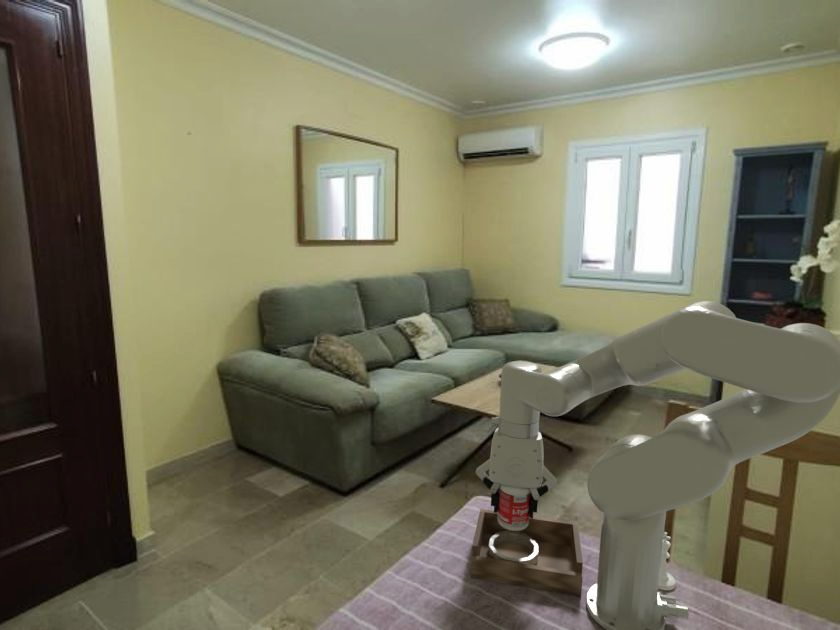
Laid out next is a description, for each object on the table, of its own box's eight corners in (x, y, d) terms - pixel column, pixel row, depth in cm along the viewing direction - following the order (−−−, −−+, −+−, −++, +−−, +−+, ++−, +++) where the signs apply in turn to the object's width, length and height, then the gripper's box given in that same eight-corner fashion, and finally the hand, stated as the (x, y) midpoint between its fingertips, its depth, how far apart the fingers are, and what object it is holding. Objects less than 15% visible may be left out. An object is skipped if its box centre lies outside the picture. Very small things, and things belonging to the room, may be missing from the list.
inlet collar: (537, 543, 101) (538, 534, 101) (537, 574, 92) (538, 564, 91) (491, 536, 103) (491, 528, 103) (486, 565, 94) (487, 556, 94)
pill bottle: (512, 535, 92) (515, 482, 91) (490, 519, 98) (493, 468, 96) (535, 525, 96) (538, 473, 94) (513, 510, 101) (516, 461, 99)
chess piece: (674, 594, 88) (680, 544, 87) (645, 584, 91) (649, 535, 89) (676, 578, 93) (681, 530, 91) (647, 569, 95) (652, 522, 93)
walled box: (575, 548, 101) (577, 522, 100) (581, 596, 88) (583, 566, 87) (479, 534, 106) (480, 508, 105) (470, 577, 92) (471, 548, 91)
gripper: (471, 428, 92) (467, 515, 95) (566, 439, 88) (559, 530, 91) (476, 414, 99) (472, 495, 102) (564, 423, 95) (558, 508, 98)
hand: (513, 511), depth 96 cm, fingers closed on pill bottle, 6 cm apart
